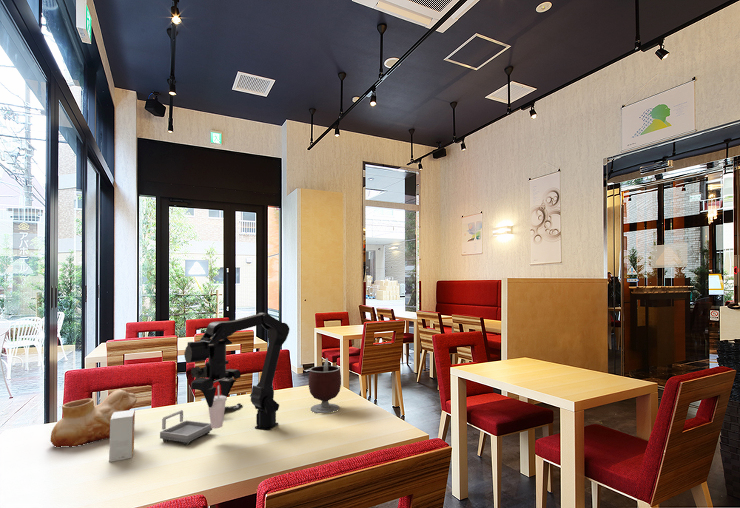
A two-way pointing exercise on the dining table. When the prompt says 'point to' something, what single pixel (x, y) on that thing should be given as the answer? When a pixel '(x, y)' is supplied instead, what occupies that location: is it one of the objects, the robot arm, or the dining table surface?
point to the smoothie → (217, 411)
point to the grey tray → (183, 429)
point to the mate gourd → (324, 386)
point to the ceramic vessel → (89, 419)
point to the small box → (121, 435)
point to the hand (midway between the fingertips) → (217, 404)
